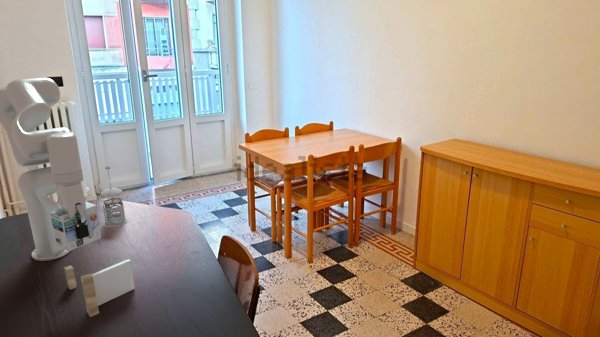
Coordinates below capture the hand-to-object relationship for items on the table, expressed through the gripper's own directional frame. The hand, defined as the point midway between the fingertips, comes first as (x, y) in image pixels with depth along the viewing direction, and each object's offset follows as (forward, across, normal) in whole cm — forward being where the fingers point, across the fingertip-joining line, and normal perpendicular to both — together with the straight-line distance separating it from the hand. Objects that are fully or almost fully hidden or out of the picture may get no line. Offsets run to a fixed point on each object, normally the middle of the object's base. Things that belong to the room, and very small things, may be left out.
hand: (78, 232), depth 124 cm
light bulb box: (+3, 0, 0) cm, 3 cm away
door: (+20, +9, +3) cm, 22 cm away
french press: (+20, -44, +25) cm, 54 cm away
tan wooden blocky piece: (+20, +4, -3) cm, 21 cm away
